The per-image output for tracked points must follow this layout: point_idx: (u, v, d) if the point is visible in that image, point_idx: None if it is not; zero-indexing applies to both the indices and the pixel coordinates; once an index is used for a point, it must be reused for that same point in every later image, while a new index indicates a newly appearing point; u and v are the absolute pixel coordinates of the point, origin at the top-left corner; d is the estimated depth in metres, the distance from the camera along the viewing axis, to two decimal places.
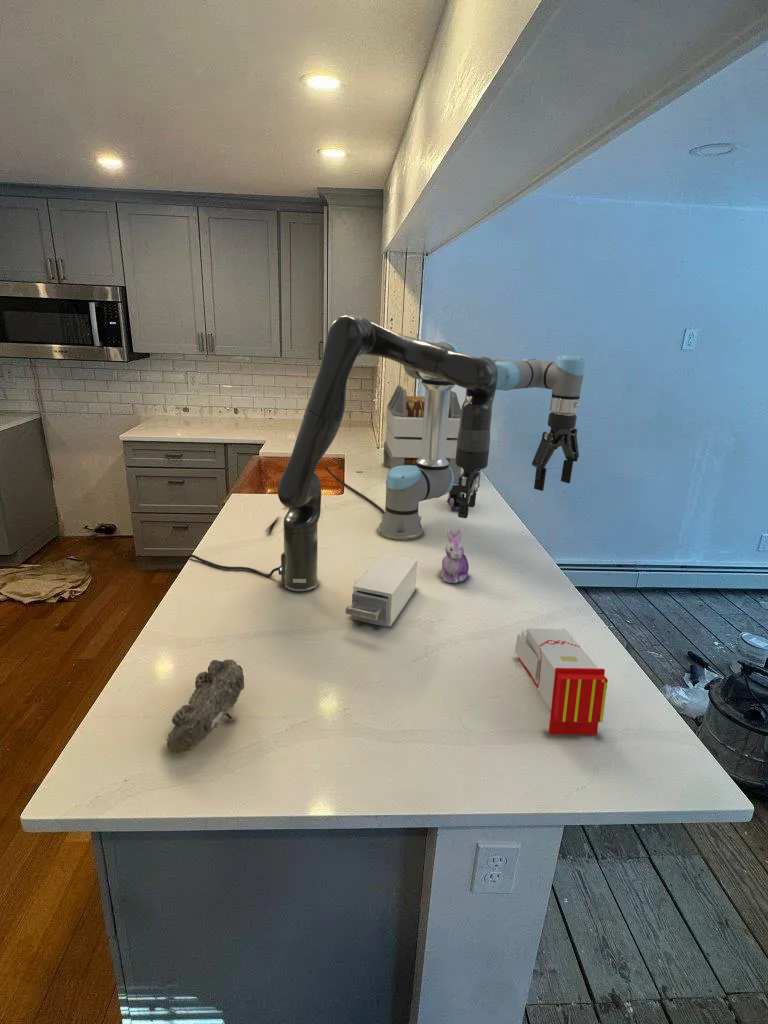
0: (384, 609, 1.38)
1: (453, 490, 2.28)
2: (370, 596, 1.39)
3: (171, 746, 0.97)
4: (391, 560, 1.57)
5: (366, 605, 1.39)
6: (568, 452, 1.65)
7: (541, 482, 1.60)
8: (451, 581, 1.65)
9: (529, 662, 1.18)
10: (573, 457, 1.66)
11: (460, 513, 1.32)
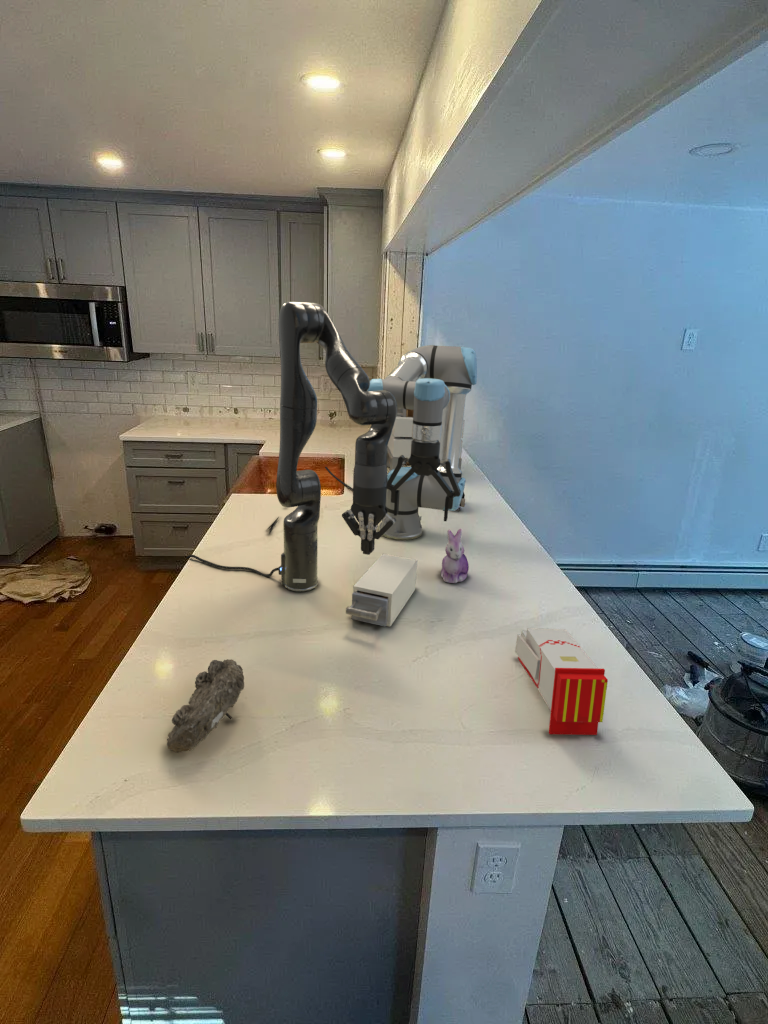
0: (384, 609, 1.38)
1: None
2: (370, 596, 1.39)
3: (171, 746, 0.97)
4: (391, 560, 1.57)
5: (366, 605, 1.39)
6: None
7: None
8: (451, 581, 1.65)
9: (529, 662, 1.18)
10: (448, 493, 1.49)
11: (372, 549, 1.31)
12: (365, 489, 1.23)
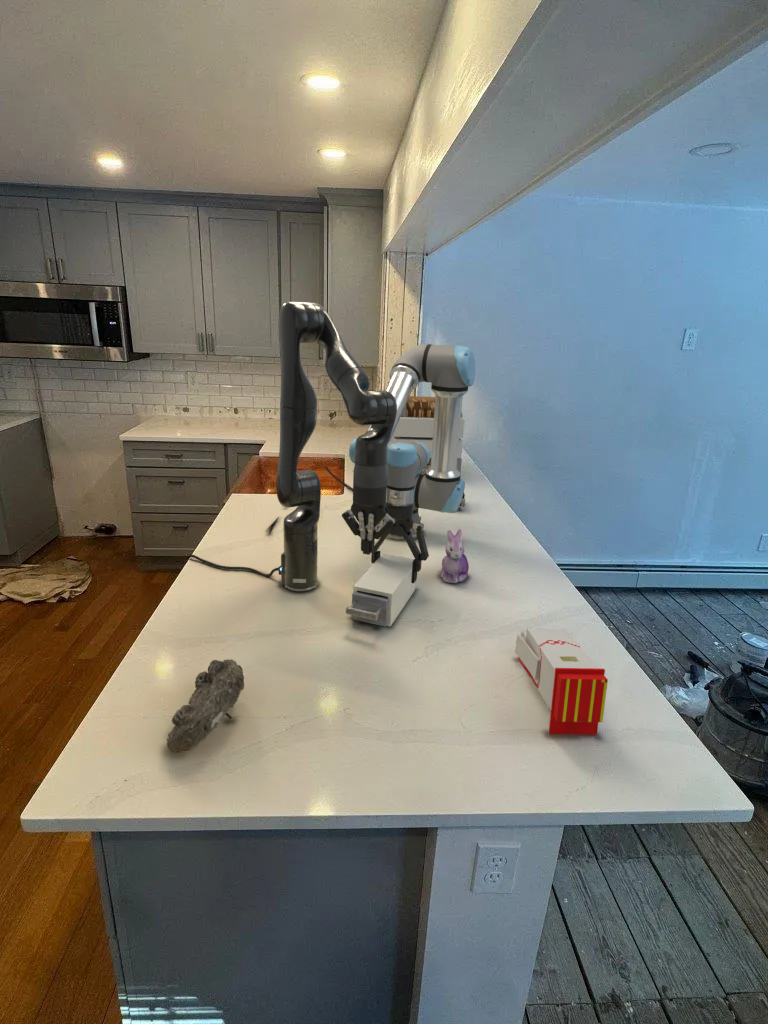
0: (384, 609, 1.38)
1: None
2: (370, 596, 1.39)
3: (171, 746, 0.97)
4: (391, 560, 1.57)
5: (366, 605, 1.39)
6: None
7: None
8: (451, 581, 1.65)
9: (529, 662, 1.18)
10: (416, 557, 1.52)
11: (372, 549, 1.31)
12: (365, 489, 1.23)
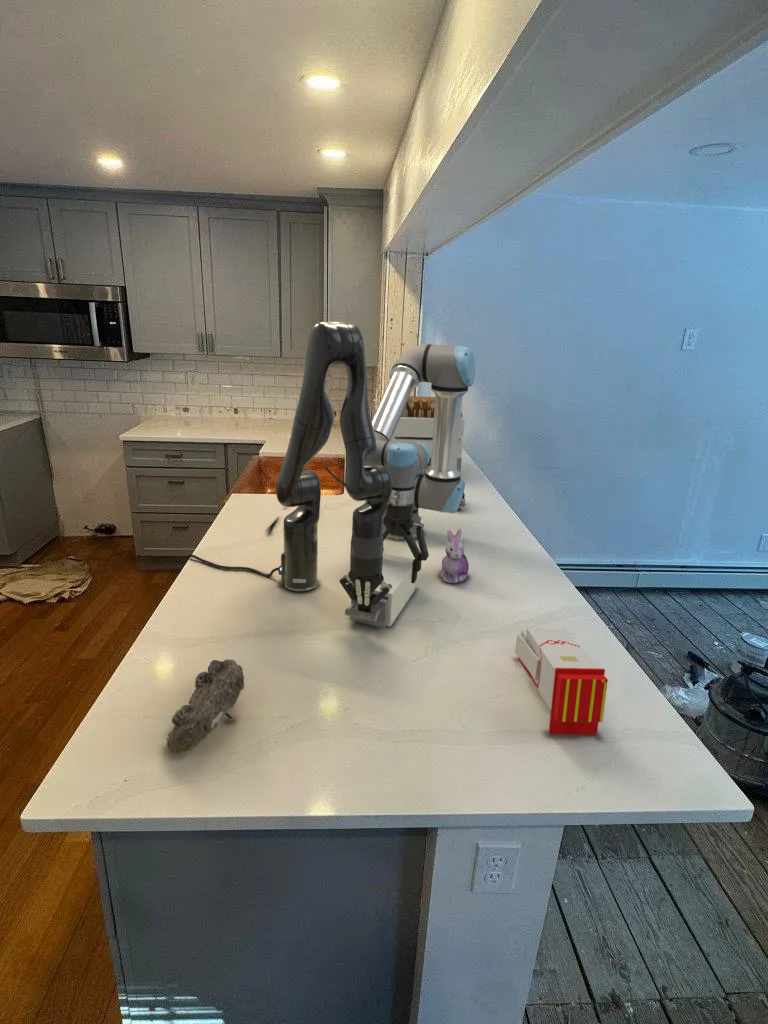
0: (383, 610, 1.38)
1: None
2: None
3: (171, 746, 0.97)
4: (391, 560, 1.57)
5: None
6: None
7: None
8: (451, 581, 1.65)
9: (529, 662, 1.18)
10: (416, 557, 1.52)
11: None
12: (362, 560, 1.27)
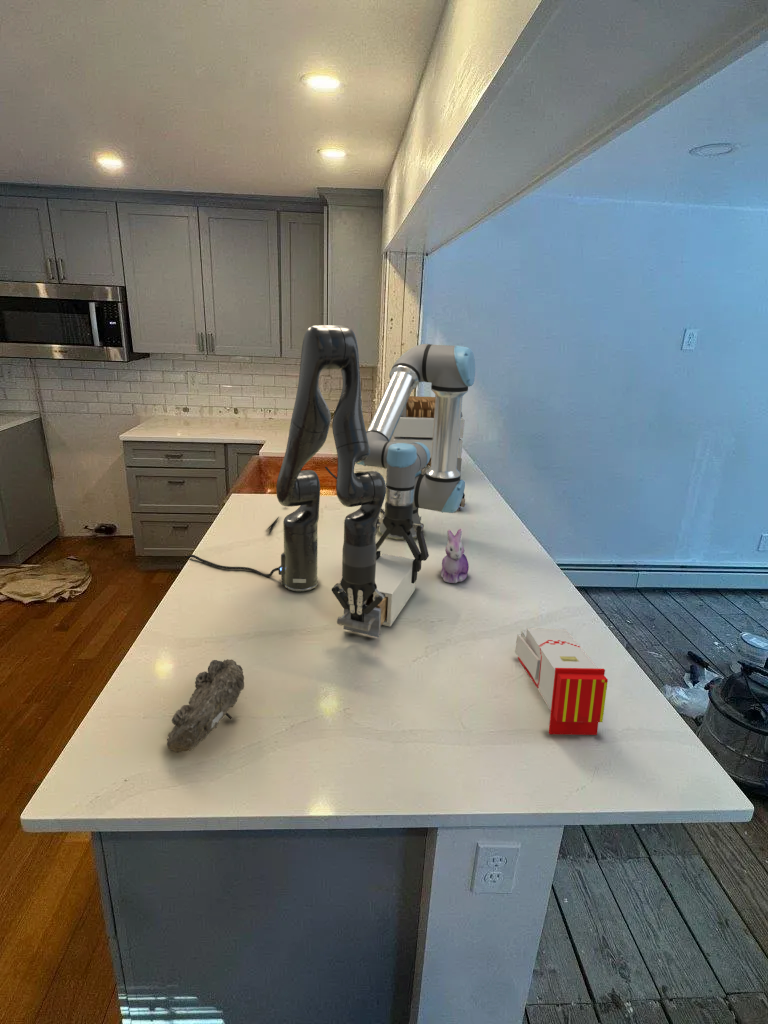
0: (376, 619, 1.34)
1: None
2: None
3: (171, 746, 0.97)
4: (391, 560, 1.57)
5: None
6: None
7: None
8: (451, 581, 1.65)
9: (529, 662, 1.18)
10: (416, 557, 1.52)
11: None
12: (354, 568, 1.23)
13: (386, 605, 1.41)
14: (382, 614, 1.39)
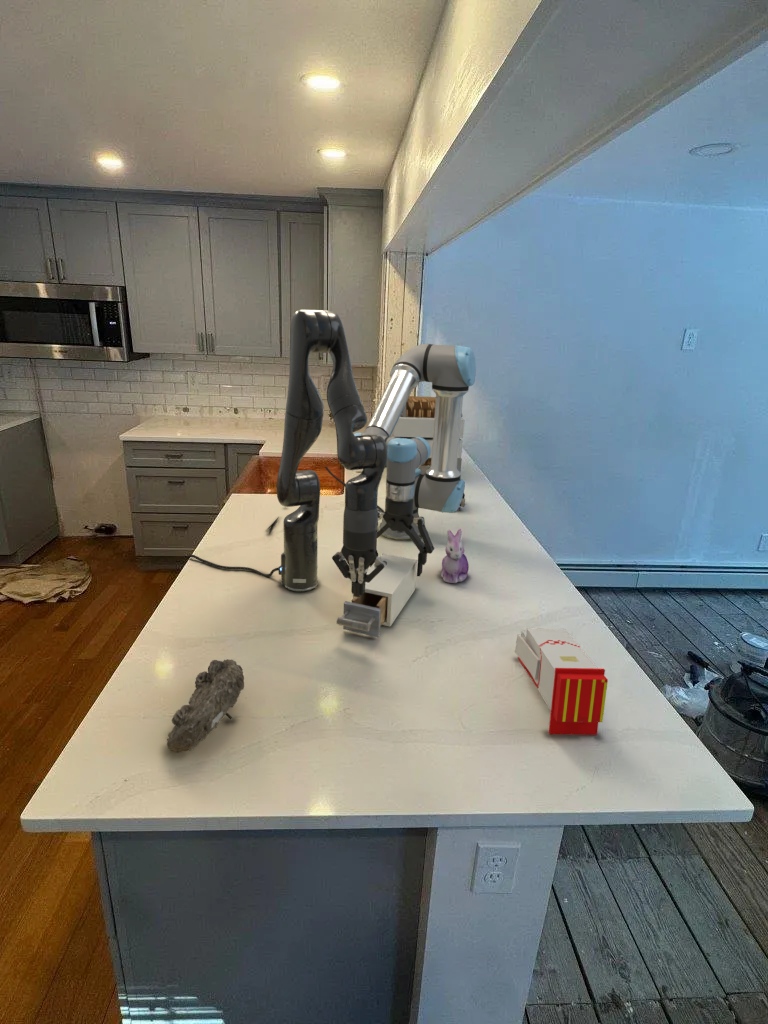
0: (376, 619, 1.33)
1: None
2: (362, 606, 1.34)
3: (171, 746, 0.97)
4: (391, 560, 1.57)
5: (358, 615, 1.35)
6: None
7: None
8: (451, 581, 1.65)
9: (529, 662, 1.18)
10: (421, 550, 1.52)
11: (363, 592, 1.29)
12: (355, 534, 1.21)
13: (386, 605, 1.41)
14: (382, 614, 1.39)
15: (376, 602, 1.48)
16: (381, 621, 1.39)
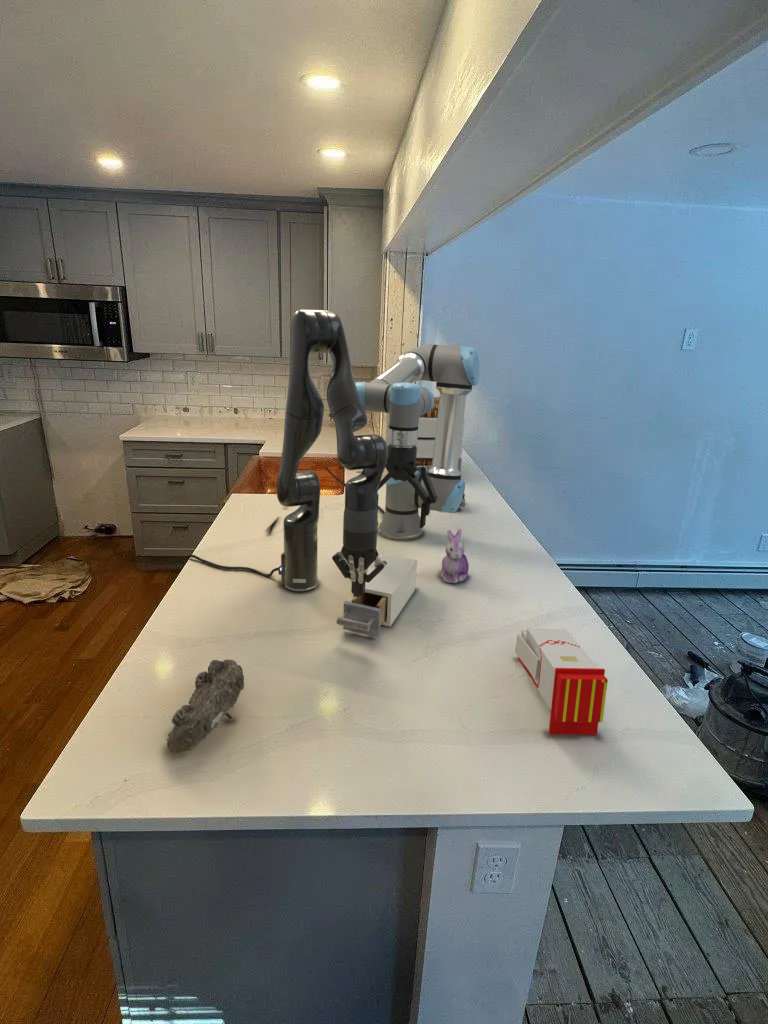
0: (376, 619, 1.33)
1: None
2: (362, 606, 1.34)
3: (171, 746, 0.97)
4: (391, 560, 1.57)
5: (358, 615, 1.35)
6: None
7: None
8: (451, 581, 1.65)
9: (529, 662, 1.18)
10: (424, 499, 1.47)
11: (363, 592, 1.29)
12: (355, 534, 1.21)
13: (386, 605, 1.41)
14: (382, 614, 1.39)
15: (376, 602, 1.48)
16: (381, 621, 1.39)
